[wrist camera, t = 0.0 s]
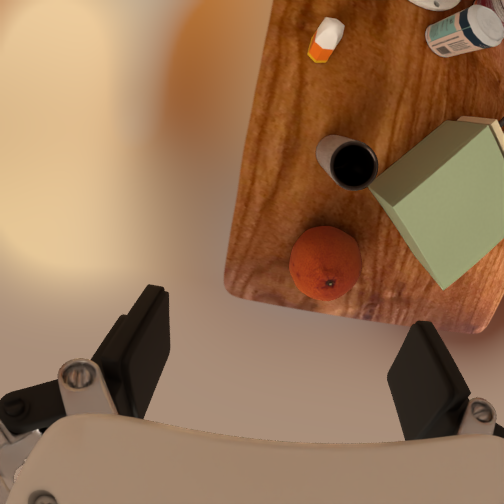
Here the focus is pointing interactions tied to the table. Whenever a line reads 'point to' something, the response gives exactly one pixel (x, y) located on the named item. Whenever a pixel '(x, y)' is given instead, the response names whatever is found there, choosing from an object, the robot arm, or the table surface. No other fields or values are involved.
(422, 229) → the cabinet
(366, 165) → the grey cylindrical tube
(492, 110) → the table surface
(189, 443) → the robot arm
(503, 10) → the pill bottle
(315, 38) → the candy corn
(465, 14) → the beer can
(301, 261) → the fruit
